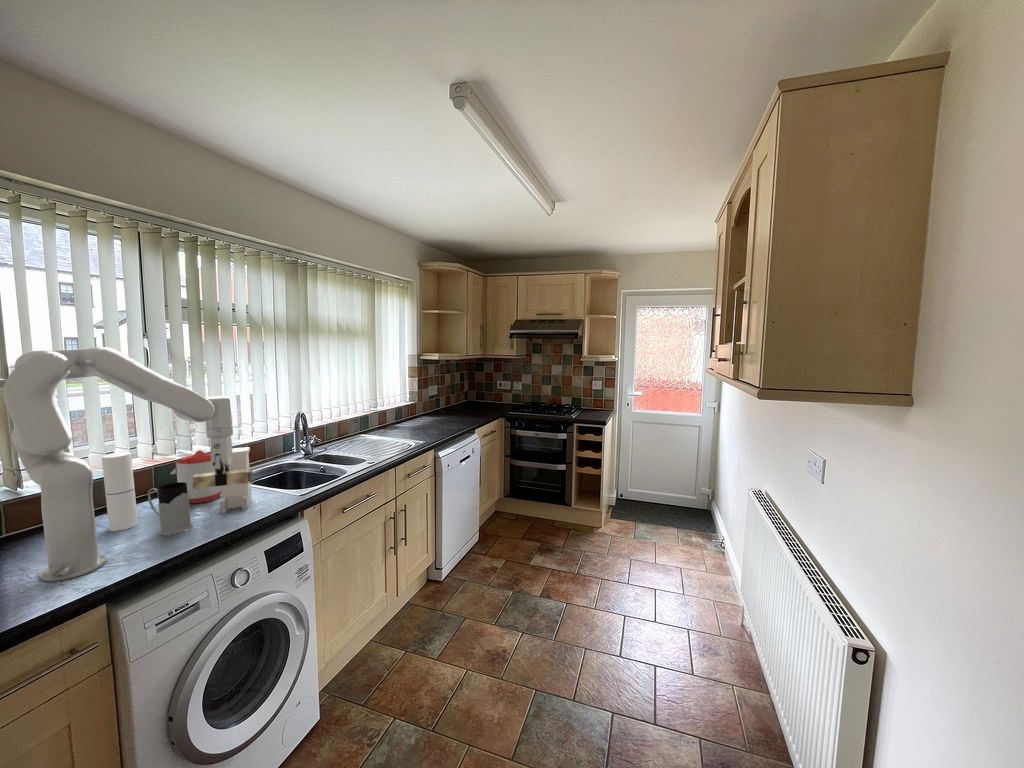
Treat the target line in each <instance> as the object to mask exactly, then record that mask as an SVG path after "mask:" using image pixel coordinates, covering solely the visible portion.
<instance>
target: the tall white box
mask: <svg viewBox="0 0 1024 768" xmlns="http://www.w3.org/2000/svg"><path fill="white" fill-rule="evenodd" d="M232 448H233V447H232ZM250 452H251V447H250V446H245V447H235V448H233V460H232V461H231V463H230V464H229V471H234V470H245V469H250V454H249V453H250ZM221 465H222V464H221ZM250 470H251V469H250ZM251 482H252V481H251ZM251 482H249V483H244V484H234V485H225V486H221V490H222V493H221V499H220V500H219V511H220V514H225V513H227V511H228V510H230V508H232V509H237V507H239V508H242V511H247V510H248V509H249V507H250V505H251V503H252V500H253V499H252V497H253V496H252V486H251Z"/></svg>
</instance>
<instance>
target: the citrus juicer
mask: <svg viewBox="0 0 1024 768" xmlns="http://www.w3.org/2000/svg"><path fill="white" fill-rule="evenodd" d="M174 464H175V466H174V467H175V468H174V469H173V470H172V471H171V472H170V475H175V476H176V477H177V478H176V479H177V480H176V481H177V482H176V483H178V482H185V483H187V492H188V496H189V503H192V504H200V503H205V502H211V501H214V500H216V499H218V498H220V497H221V496H222V490H221V486H216V487H207V488H197V489H193V481H192V477H193V476H194V475H195V474H203V473H214V472H215V466H212V465H211V452H205V451H202V450H197V451H196V452H195V453H194V454H191V455H187V456H183V457H181V458H179V462H176V461H175V462H174Z"/></svg>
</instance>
